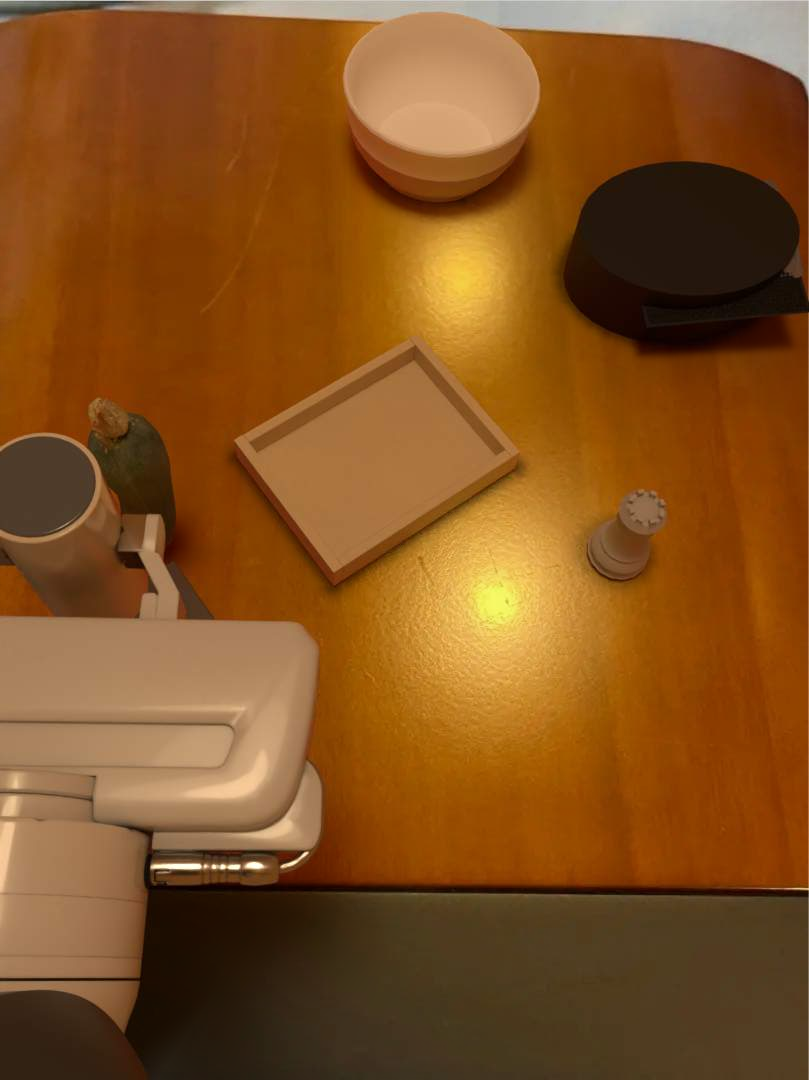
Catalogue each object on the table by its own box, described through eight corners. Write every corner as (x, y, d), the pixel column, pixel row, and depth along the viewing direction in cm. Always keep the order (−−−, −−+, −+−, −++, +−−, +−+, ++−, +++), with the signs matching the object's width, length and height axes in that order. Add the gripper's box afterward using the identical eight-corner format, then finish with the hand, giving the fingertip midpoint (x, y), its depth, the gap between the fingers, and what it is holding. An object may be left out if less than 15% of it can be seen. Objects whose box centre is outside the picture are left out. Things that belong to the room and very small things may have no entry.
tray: (333, 586, 70) (333, 572, 68) (236, 457, 74) (233, 439, 71) (515, 468, 75) (520, 451, 72) (415, 352, 78) (417, 332, 76)
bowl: (361, 237, 83) (363, 165, 75) (327, 97, 89) (326, 19, 82) (544, 214, 85) (564, 143, 78) (499, 79, 91) (513, 2, 84)
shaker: (78, 655, 43) (9, 565, 34) (28, 577, 44) (-51, 470, 35) (167, 600, 44) (124, 499, 35) (116, 526, 45) (62, 409, 36)
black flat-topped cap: (549, 225, 86) (561, 163, 79) (753, 207, 86) (783, 144, 79) (577, 370, 80) (593, 317, 74) (794, 349, 81) (831, 295, 74)
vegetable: (154, 505, 72) (92, 344, 53) (206, 531, 71) (161, 376, 53) (120, 556, 70) (44, 406, 52) (173, 582, 69) (115, 440, 51)
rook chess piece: (651, 580, 72) (686, 535, 64) (590, 583, 71) (619, 538, 64) (640, 524, 73) (673, 474, 66) (581, 527, 73) (608, 477, 66)
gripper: (321, 877, 32) (333, 488, 37) (-352, 875, 30) (-235, 472, 36) (322, 893, 37) (332, 554, 43) (-243, 892, 36) (-157, 542, 42)
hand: (70, 517), depth 39 cm, fingers closed on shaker, 4 cm apart
